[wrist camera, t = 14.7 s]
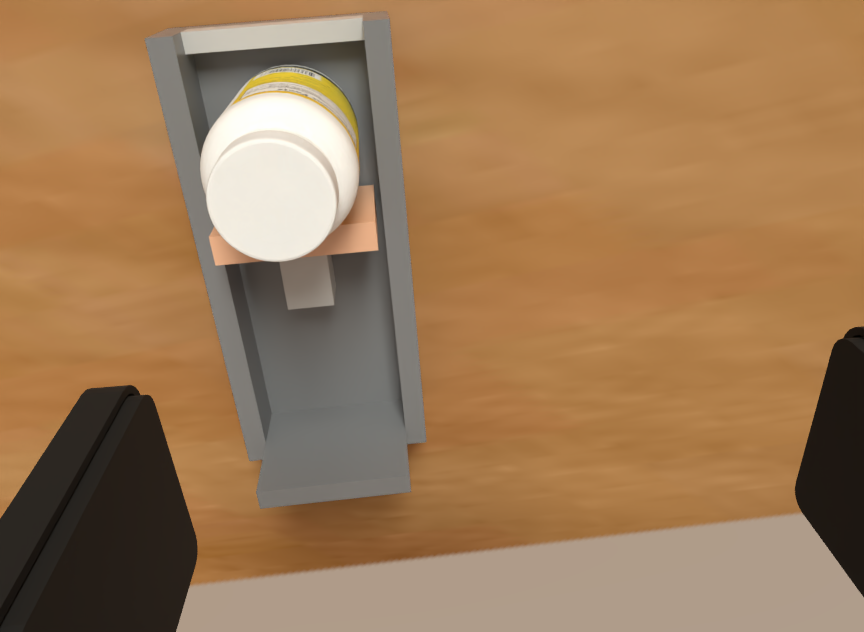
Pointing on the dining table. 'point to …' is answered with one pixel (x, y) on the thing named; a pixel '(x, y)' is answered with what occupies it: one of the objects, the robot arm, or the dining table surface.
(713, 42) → the dining table surface
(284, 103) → the supplement bottle
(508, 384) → the dining table surface
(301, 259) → the spring paddle
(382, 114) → the pusher lane
